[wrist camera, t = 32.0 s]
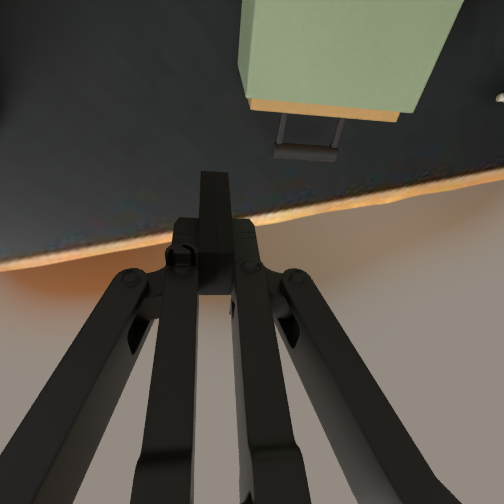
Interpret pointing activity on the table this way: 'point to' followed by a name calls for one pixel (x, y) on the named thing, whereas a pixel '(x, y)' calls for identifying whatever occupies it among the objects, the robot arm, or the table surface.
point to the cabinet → (342, 50)
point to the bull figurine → (500, 97)
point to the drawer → (316, 151)
